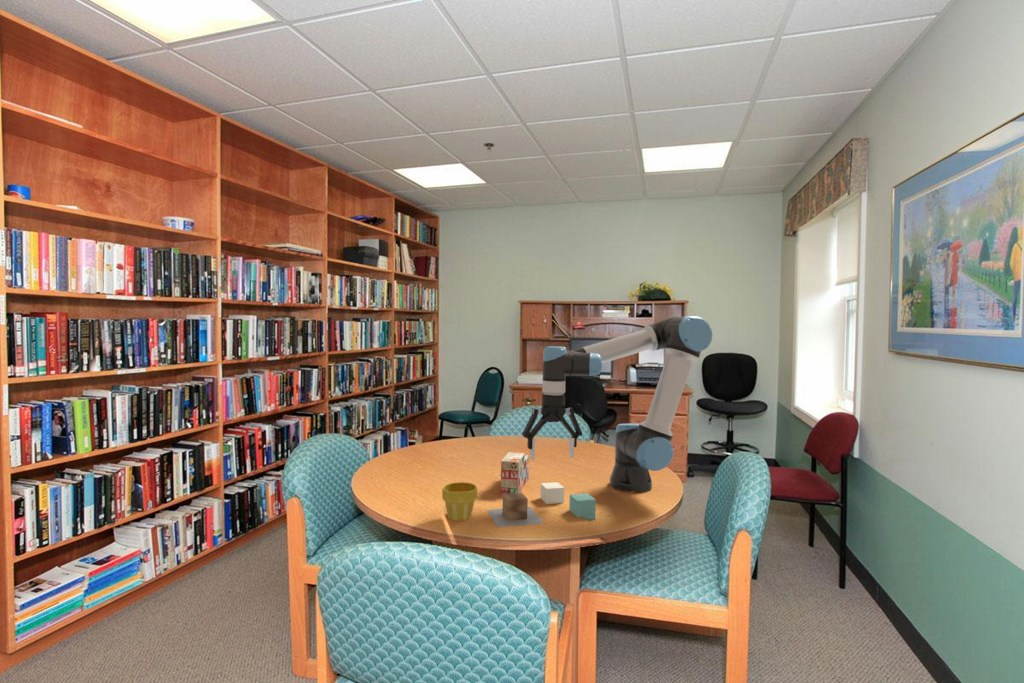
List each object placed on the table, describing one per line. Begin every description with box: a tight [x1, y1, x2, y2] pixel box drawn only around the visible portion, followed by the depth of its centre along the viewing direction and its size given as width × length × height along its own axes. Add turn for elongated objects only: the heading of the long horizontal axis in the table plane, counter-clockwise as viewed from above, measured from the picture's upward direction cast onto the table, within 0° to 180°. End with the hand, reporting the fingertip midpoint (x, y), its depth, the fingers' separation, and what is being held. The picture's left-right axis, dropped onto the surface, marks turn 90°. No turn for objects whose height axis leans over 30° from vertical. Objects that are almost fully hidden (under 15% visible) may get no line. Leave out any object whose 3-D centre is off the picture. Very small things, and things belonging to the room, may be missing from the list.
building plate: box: [486, 506, 545, 528], centre depth 152 cm, size 14×14×1 cm
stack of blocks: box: [499, 451, 530, 496], centre depth 183 cm, size 21×6×12 cm, turn 168°
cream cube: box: [539, 481, 565, 505], centre depth 167 cm, size 6×6×6 cm
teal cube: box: [568, 492, 597, 521], centre depth 155 cm, size 6×6×6 cm
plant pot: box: [441, 481, 478, 522], centre depth 151 cm, size 10×10×10 cm
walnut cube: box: [501, 492, 529, 521], centre depth 152 cm, size 6×6×6 cm
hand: (551, 458), depth 167 cm, fingers open, 13 cm apart
